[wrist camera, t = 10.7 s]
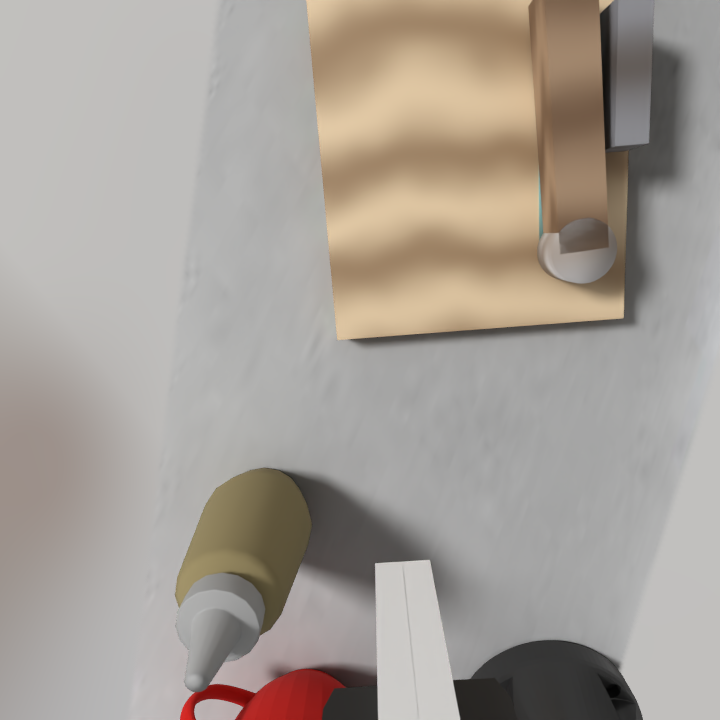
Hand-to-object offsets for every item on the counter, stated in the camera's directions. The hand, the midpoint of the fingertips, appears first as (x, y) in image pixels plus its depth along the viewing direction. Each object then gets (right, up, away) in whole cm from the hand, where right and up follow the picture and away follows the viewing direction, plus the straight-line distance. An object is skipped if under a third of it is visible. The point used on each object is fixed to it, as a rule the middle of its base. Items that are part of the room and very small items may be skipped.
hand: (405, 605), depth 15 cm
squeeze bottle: (-9, -4, +29) cm, 30 cm away
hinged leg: (+12, +20, +20) cm, 31 cm away
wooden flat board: (+6, +20, +22) cm, 31 cm away
